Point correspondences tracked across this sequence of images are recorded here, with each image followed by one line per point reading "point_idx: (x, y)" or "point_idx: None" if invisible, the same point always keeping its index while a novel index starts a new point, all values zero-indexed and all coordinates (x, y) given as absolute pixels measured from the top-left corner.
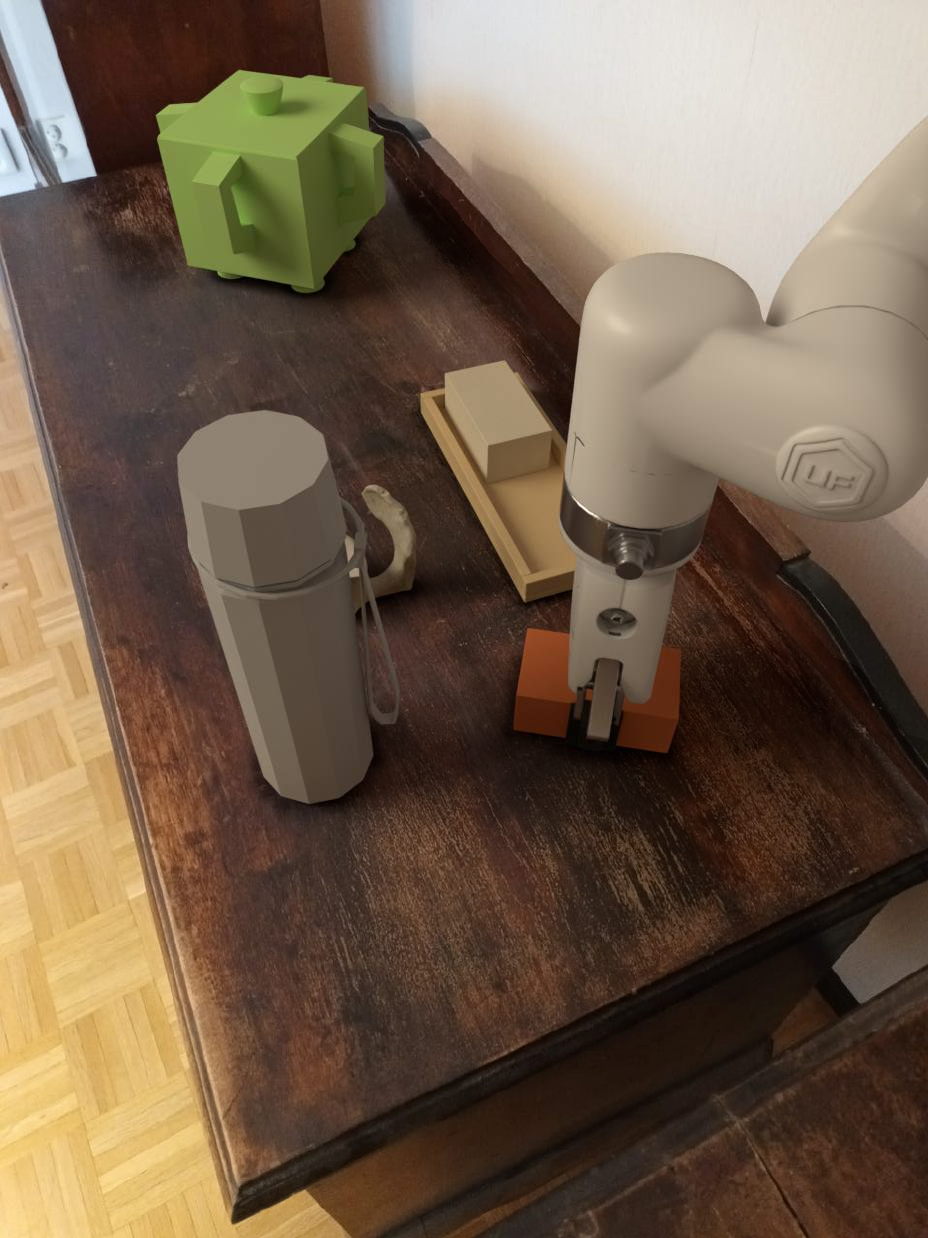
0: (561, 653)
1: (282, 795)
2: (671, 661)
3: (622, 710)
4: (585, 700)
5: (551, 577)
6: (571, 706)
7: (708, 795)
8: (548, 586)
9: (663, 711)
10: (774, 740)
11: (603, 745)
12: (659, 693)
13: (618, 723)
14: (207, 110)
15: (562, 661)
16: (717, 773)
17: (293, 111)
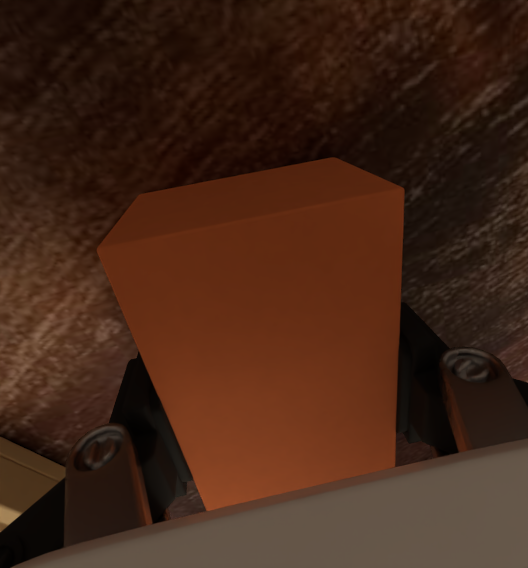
0: (265, 488)
1: None
2: (171, 267)
3: (417, 349)
4: (439, 448)
5: (21, 511)
6: (419, 439)
7: (429, 25)
8: (38, 488)
9: (382, 241)
10: None
11: (411, 310)
12: (319, 270)
13: (502, 364)
14: None
15: (286, 480)
16: (362, 8)
17: None
